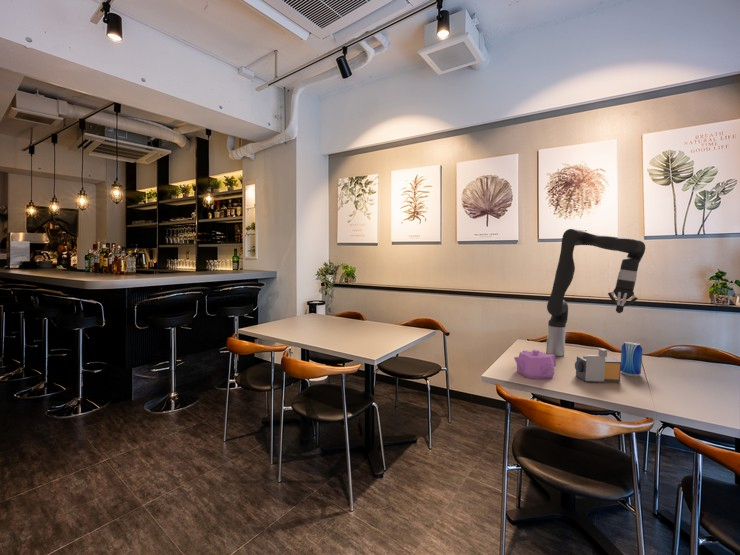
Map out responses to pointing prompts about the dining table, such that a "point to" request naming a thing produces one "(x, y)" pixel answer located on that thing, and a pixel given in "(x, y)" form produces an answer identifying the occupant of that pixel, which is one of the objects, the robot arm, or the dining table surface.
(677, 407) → the dining table surface
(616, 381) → the camera body
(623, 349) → the beer can
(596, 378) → the side door
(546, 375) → the teakettle
